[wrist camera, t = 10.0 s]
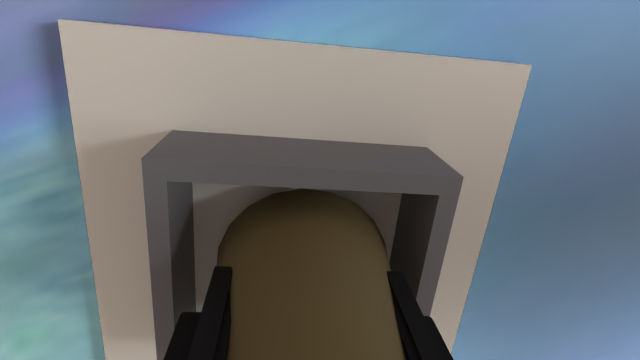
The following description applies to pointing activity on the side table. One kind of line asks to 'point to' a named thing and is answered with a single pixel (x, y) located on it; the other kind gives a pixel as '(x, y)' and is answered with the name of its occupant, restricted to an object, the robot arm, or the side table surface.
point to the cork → (308, 281)
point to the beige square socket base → (274, 159)
